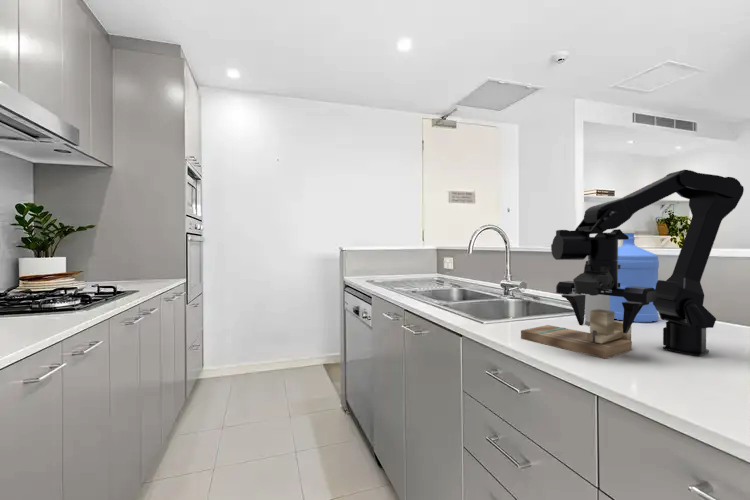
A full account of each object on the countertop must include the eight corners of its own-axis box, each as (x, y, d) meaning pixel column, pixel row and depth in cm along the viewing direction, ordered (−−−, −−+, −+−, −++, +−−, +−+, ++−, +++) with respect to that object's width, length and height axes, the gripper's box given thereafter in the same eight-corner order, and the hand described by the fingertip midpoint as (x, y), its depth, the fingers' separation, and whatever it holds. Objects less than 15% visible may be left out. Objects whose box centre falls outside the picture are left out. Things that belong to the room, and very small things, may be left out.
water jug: (671, 323, 110) (672, 232, 109) (620, 323, 110) (620, 232, 109) (635, 313, 125) (635, 234, 125) (590, 313, 125) (590, 234, 125)
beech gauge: (631, 344, 83) (631, 309, 83) (605, 352, 76) (606, 314, 76) (607, 339, 87) (607, 306, 87) (581, 347, 81) (582, 310, 81)
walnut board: (631, 349, 81) (631, 340, 81) (605, 358, 74) (606, 348, 74) (547, 332, 98) (547, 324, 98) (520, 338, 91) (520, 330, 91)
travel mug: (614, 328, 103) (615, 258, 103) (589, 327, 104) (590, 258, 104) (605, 323, 109) (605, 258, 109) (581, 322, 110) (582, 257, 110)
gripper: (542, 259, 84) (542, 325, 84) (634, 262, 68) (633, 343, 68) (568, 258, 90) (568, 320, 90) (658, 261, 74) (657, 335, 74)
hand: (602, 329), depth 81 cm, fingers open, 9 cm apart
